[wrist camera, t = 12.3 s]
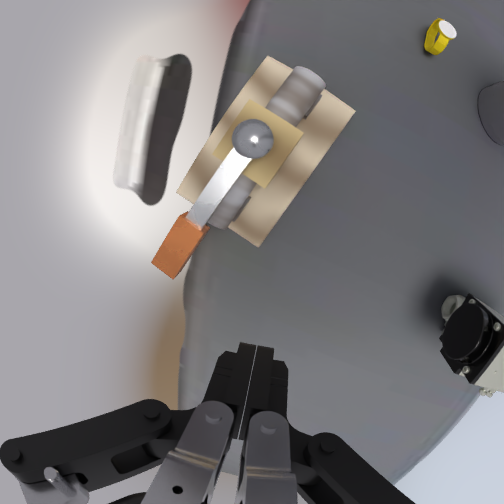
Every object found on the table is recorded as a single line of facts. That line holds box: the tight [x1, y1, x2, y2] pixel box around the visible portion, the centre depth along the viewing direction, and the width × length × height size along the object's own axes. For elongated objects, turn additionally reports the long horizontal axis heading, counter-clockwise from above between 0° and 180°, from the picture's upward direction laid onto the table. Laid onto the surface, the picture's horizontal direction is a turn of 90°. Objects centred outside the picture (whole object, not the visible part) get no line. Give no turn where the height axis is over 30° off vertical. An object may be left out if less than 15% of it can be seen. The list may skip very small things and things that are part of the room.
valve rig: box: [176, 56, 355, 248], centre depth 26 cm, size 20×12×11 cm, turn 146°
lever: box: [151, 119, 274, 279], centre depth 21 cm, size 3×14×2 cm, turn 144°
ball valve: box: [439, 293, 504, 397], centre depth 26 cm, size 18×8×18 cm, turn 67°
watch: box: [424, 18, 456, 55], centre depth 20 cm, size 6×3×6 cm, turn 161°
